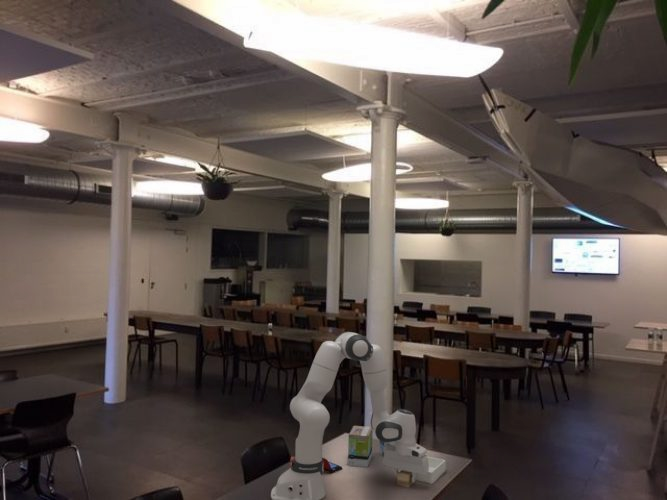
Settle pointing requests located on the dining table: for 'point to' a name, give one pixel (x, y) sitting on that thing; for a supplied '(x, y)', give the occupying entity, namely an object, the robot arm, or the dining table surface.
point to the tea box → (360, 446)
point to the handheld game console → (330, 466)
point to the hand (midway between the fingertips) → (405, 480)
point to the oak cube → (404, 478)
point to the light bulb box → (384, 445)
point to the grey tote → (432, 470)
